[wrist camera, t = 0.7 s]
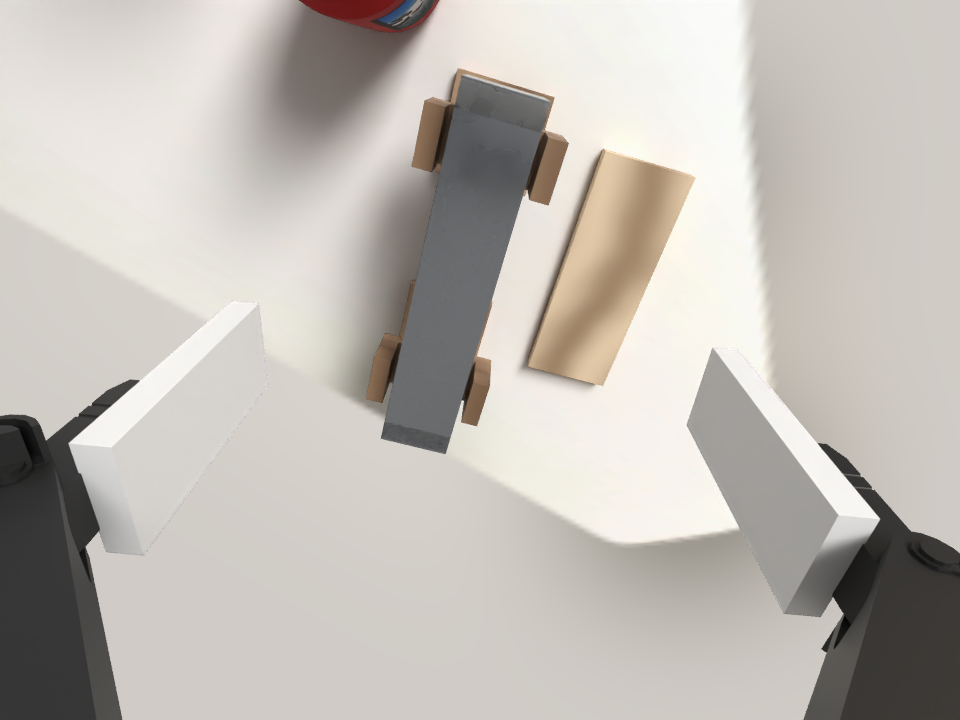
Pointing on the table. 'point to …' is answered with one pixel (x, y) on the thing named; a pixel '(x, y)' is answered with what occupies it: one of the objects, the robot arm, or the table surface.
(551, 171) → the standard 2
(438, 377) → the rail
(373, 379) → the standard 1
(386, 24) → the beverage can
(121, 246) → the table surface
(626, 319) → the light wooden board
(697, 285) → the table surface
